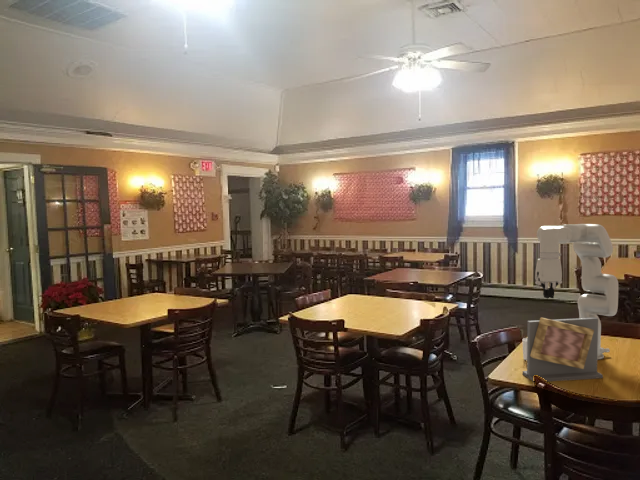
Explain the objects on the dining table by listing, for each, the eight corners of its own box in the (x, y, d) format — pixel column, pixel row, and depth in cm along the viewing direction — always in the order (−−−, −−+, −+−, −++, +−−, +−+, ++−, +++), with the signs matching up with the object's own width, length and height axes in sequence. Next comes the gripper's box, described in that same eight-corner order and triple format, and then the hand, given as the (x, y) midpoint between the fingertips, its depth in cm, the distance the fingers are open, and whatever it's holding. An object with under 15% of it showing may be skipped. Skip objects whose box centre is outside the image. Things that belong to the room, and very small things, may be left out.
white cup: (541, 362, 242) (541, 342, 241) (523, 361, 244) (524, 341, 243) (537, 357, 250) (537, 337, 249) (520, 356, 251) (520, 337, 250)
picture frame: (579, 366, 222) (589, 328, 221) (583, 369, 219) (594, 330, 218) (530, 356, 219) (540, 317, 218) (533, 358, 216) (544, 318, 215)
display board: (588, 370, 229) (589, 315, 227) (602, 378, 219) (603, 320, 217) (522, 374, 227) (523, 318, 224) (533, 382, 217) (534, 324, 215)
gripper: (561, 254, 219) (560, 295, 221) (527, 255, 218) (527, 296, 219) (571, 256, 212) (570, 298, 213) (536, 257, 210) (536, 300, 212)
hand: (548, 297), depth 216 cm, fingers closed
